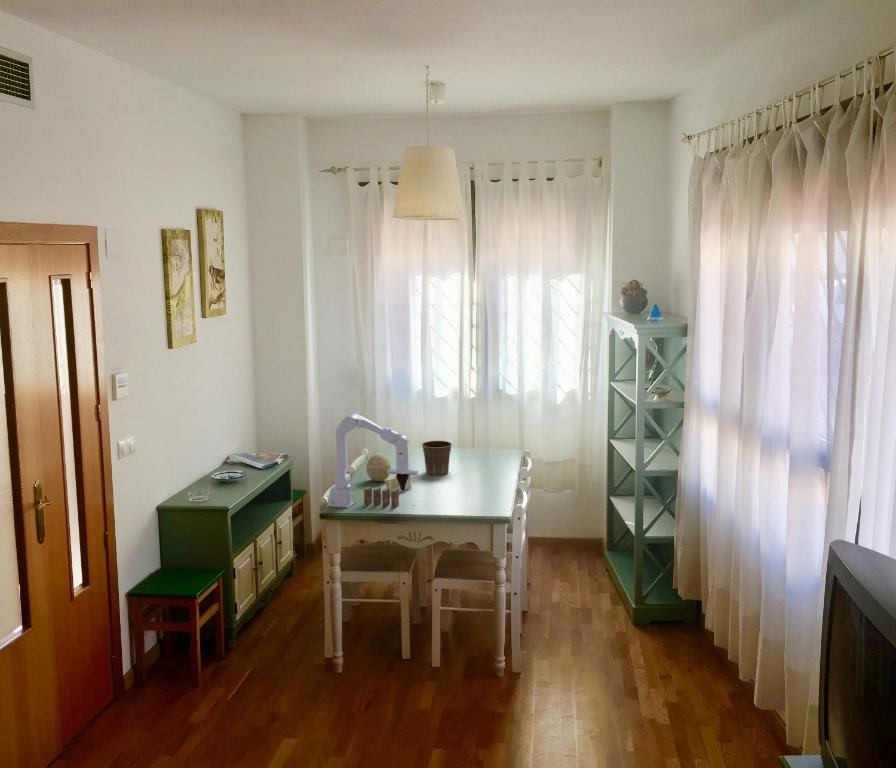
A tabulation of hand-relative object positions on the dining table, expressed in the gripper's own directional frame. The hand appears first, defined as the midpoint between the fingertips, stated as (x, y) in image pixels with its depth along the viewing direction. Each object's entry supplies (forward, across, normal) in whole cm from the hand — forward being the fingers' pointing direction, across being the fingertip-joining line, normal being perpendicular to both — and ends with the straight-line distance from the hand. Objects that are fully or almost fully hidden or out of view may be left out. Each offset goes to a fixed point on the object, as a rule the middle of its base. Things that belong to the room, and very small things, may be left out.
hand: (403, 489), depth 403 cm
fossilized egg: (+8, +28, -41) cm, 50 cm away
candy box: (+9, +11, -24) cm, 28 cm away
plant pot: (+9, +3, -64) cm, 65 cm away
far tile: (+8, +4, 0) cm, 9 cm away
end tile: (+8, +18, 0) cm, 19 cm away
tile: (+8, +13, 0) cm, 15 cm away
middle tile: (+8, +9, 0) cm, 12 cm away
